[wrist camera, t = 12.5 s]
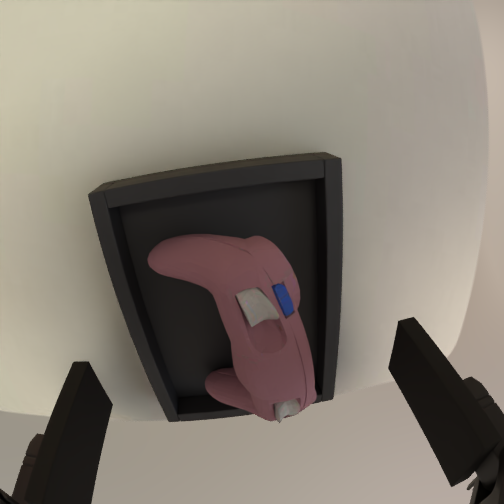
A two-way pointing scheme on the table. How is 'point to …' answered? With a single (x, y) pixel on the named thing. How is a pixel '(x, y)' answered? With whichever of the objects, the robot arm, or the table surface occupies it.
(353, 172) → the table surface
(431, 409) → the robot arm
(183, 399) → the shallow black tray
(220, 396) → the video game controller
